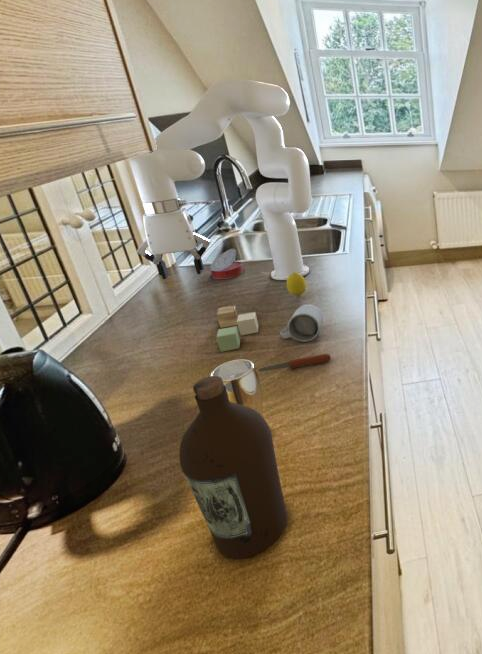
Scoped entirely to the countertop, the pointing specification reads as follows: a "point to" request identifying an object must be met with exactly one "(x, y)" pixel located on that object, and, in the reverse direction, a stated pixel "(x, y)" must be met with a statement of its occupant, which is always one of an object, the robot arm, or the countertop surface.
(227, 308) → the birch block
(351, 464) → the countertop surface
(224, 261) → the canned food
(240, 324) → the cream block
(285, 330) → the ceramic mug
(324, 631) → the countertop surface
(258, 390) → the beer glass
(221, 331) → the sage block
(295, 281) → the lemon
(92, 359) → the countertop surface
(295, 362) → the kitchen knife
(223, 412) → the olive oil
